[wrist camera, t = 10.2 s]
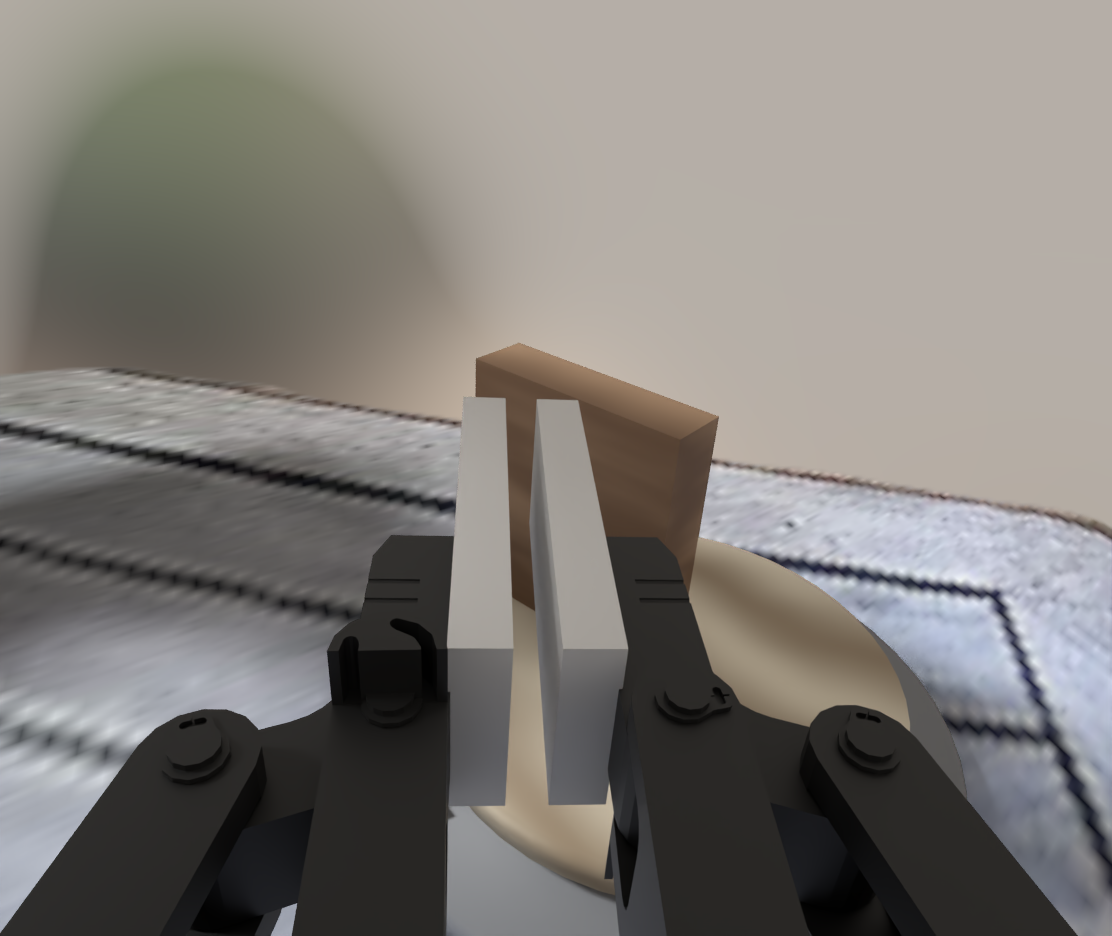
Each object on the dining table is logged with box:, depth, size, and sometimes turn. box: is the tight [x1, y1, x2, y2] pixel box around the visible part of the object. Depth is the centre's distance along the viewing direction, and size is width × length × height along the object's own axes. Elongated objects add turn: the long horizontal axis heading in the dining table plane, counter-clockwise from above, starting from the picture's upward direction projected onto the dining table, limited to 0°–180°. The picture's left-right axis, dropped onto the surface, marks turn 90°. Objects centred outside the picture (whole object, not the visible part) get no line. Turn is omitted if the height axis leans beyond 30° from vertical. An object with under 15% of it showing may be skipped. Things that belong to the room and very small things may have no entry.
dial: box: [469, 343, 910, 895], centre depth 30 cm, size 18×18×12 cm
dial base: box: [446, 619, 967, 936], centre depth 33 cm, size 23×23×2 cm
